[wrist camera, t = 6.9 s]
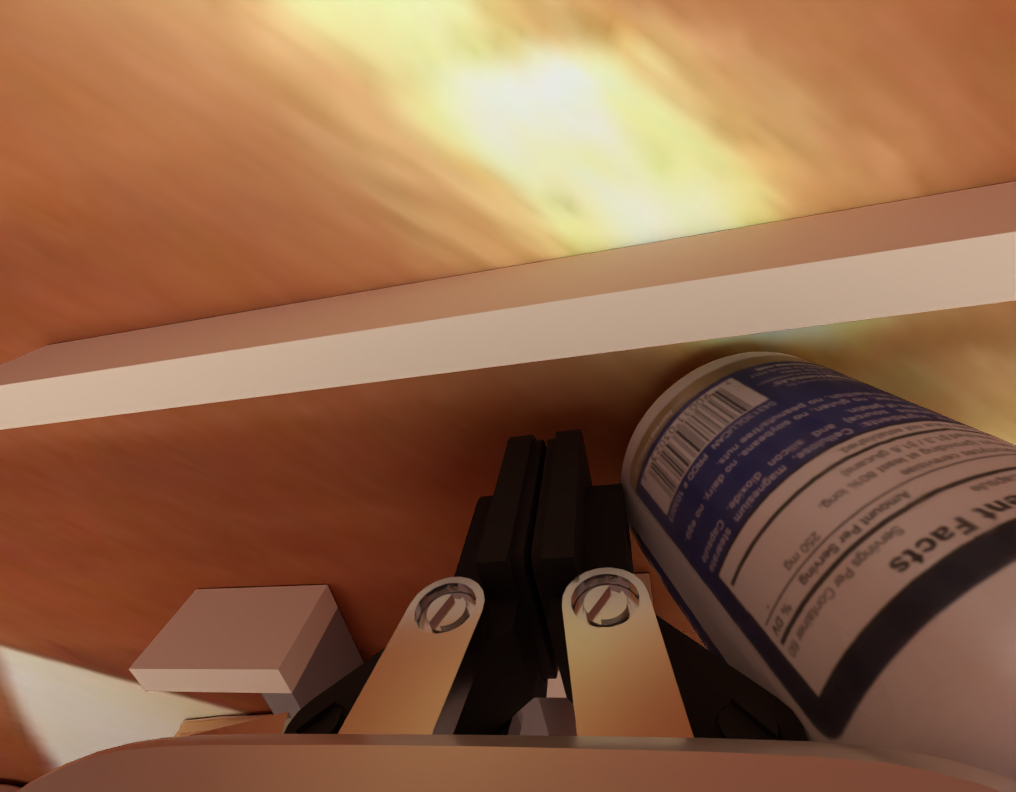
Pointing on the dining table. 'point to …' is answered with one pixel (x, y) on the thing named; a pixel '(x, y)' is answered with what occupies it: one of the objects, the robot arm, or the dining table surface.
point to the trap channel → (489, 343)
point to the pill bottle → (838, 551)
